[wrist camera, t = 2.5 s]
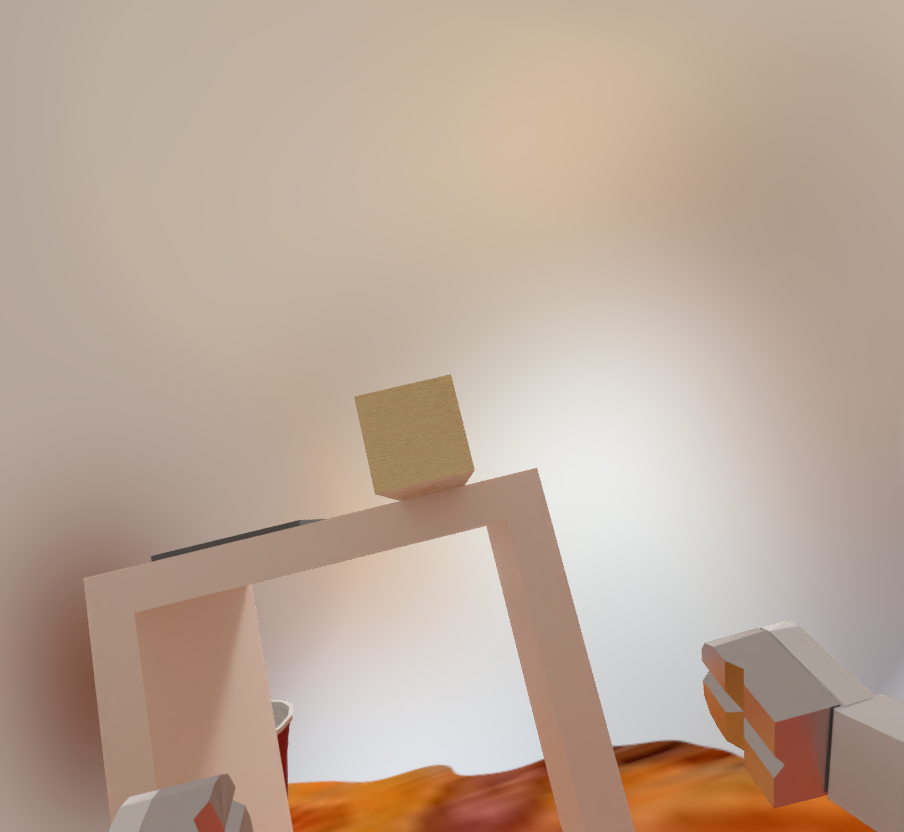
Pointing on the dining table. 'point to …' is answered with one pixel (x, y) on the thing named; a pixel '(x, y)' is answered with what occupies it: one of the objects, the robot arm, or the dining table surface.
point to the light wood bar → (415, 439)
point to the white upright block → (243, 667)
